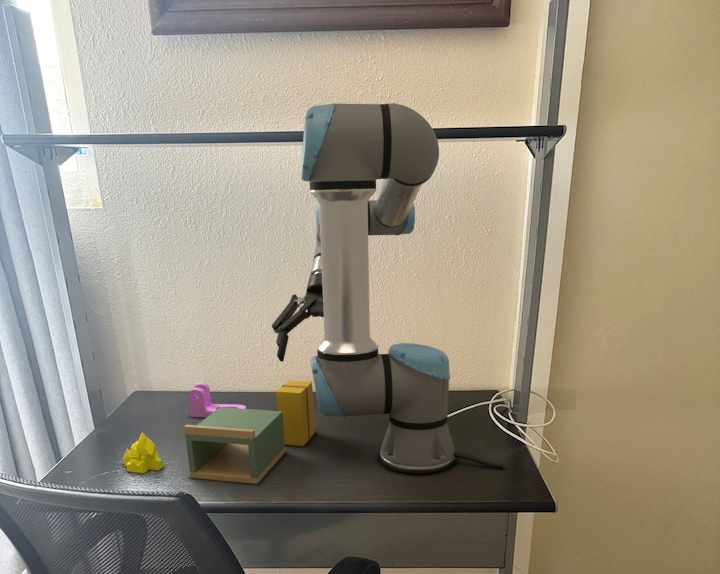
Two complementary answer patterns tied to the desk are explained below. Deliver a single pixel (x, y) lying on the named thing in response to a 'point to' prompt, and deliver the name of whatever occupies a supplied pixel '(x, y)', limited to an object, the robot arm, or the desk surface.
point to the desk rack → (235, 444)
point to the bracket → (204, 402)
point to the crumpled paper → (142, 456)
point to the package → (296, 411)
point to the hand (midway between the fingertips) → (308, 360)
